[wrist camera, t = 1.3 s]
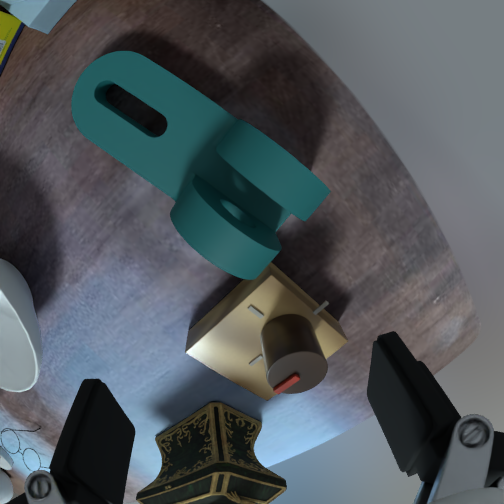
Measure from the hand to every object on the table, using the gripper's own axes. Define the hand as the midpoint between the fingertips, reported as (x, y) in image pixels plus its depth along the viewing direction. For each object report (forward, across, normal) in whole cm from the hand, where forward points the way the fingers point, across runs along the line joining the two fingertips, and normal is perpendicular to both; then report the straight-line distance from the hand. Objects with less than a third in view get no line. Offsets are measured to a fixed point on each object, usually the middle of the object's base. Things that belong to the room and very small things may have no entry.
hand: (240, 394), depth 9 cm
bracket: (+16, +2, -8) cm, 18 cm away
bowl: (+16, +24, +1) cm, 29 cm away
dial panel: (+16, -1, +9) cm, 18 cm away
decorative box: (+16, +10, +26) cm, 32 cm away
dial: (+13, -3, +8) cm, 15 cm away
